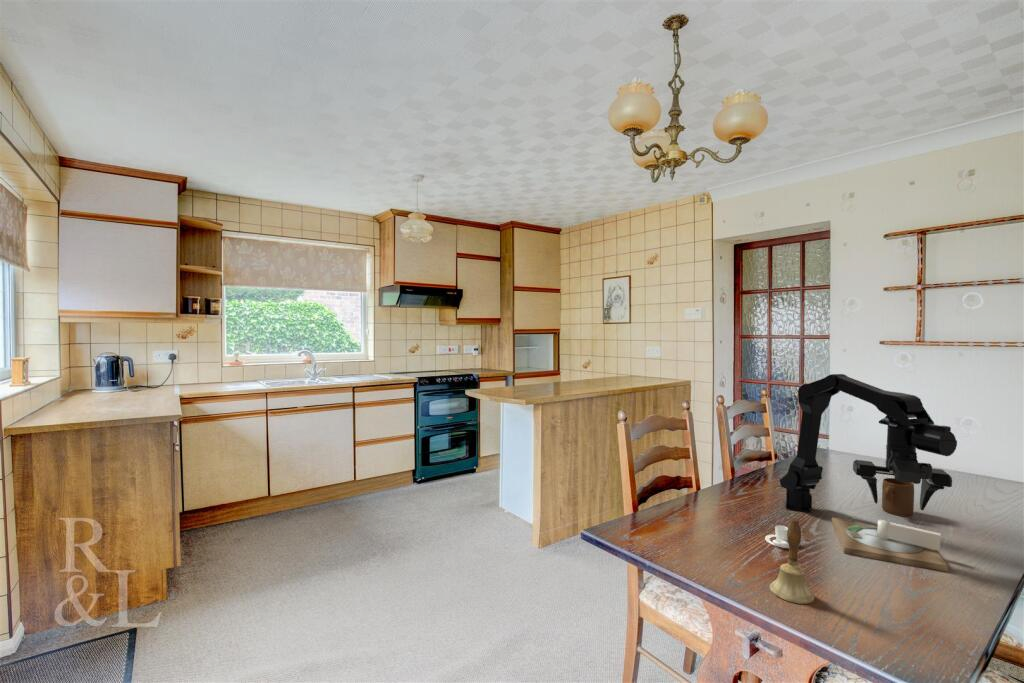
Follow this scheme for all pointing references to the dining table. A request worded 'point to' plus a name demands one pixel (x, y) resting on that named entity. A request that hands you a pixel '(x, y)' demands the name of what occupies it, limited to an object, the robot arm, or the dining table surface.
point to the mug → (897, 497)
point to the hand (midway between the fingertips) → (898, 506)
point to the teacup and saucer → (779, 537)
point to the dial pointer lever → (905, 534)
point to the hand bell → (792, 572)
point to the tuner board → (883, 546)
